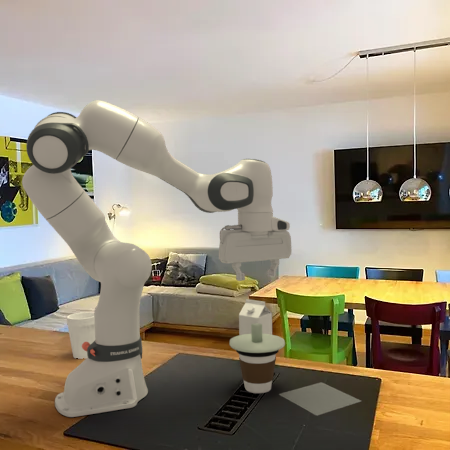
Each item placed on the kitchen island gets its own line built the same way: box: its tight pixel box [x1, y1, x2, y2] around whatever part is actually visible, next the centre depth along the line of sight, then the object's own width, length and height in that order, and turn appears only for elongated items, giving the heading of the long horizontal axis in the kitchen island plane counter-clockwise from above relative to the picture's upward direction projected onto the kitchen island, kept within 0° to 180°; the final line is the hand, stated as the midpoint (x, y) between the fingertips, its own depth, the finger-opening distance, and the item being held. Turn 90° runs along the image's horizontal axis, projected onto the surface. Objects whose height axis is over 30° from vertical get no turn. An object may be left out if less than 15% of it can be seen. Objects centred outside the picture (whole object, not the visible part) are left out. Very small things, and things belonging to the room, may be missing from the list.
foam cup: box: [66, 311, 95, 360], centre depth 151 cm, size 10×9×13 cm
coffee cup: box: [235, 349, 280, 394], centre depth 120 cm, size 11×11×12 cm
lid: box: [229, 323, 286, 353], centre depth 120 cm, size 14×14×5 cm
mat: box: [278, 381, 362, 417], centre depth 114 cm, size 14×14×1 cm
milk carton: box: [238, 298, 273, 336], centre depth 140 cm, size 7×7×19 cm
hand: (256, 278), depth 119 cm, fingers open, 8 cm apart
